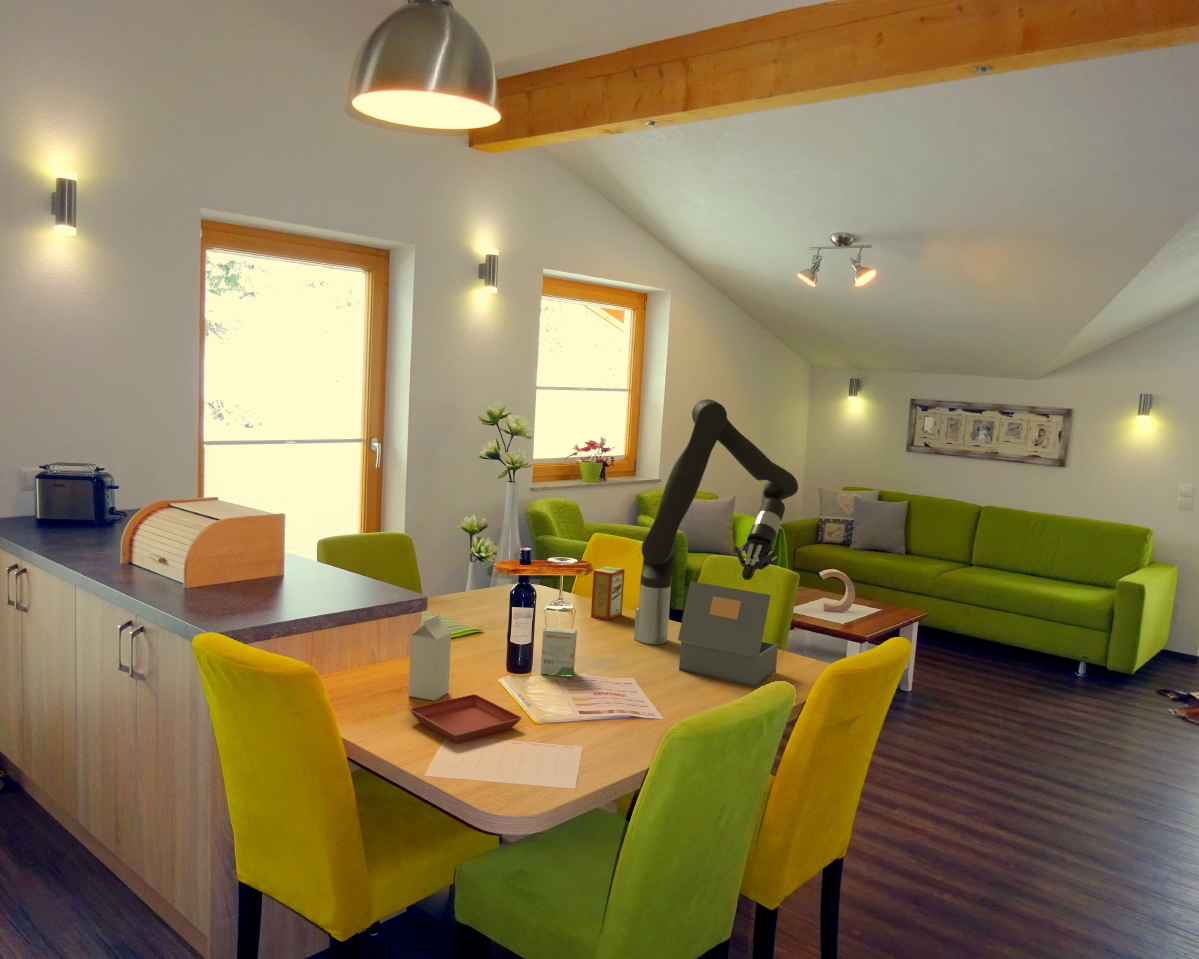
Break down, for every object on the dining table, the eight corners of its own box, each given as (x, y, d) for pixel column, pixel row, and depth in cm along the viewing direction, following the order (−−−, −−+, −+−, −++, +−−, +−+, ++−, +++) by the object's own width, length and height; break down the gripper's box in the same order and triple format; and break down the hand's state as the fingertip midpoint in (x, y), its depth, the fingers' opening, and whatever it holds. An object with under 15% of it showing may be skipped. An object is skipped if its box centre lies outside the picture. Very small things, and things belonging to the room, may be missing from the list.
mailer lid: (678, 640, 253) (677, 640, 252) (691, 581, 256) (690, 580, 255) (758, 657, 241) (757, 657, 241) (770, 595, 245) (770, 594, 244)
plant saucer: (522, 731, 205) (523, 716, 204) (454, 749, 192) (455, 734, 192) (474, 707, 218) (475, 693, 217) (407, 723, 205) (408, 708, 205)
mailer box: (678, 670, 254) (680, 641, 253) (702, 656, 268) (704, 629, 267) (755, 687, 243) (757, 657, 242) (775, 672, 257) (778, 644, 256)
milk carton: (448, 692, 225) (452, 616, 223) (434, 701, 219) (437, 622, 217) (423, 688, 228) (426, 612, 226) (407, 696, 221) (410, 618, 219)
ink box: (539, 675, 243) (542, 630, 242) (543, 669, 248) (545, 625, 247) (572, 677, 242) (575, 633, 241) (575, 671, 247) (577, 628, 246)
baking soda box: (608, 620, 302) (611, 572, 300) (590, 617, 305) (593, 569, 303) (621, 615, 310) (624, 567, 308) (604, 611, 313) (607, 565, 312)
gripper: (740, 519, 270) (721, 566, 261) (784, 525, 264) (766, 574, 254) (745, 535, 275) (726, 582, 266) (788, 541, 269) (771, 589, 260)
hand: (746, 578), depth 260 cm, fingers closed
